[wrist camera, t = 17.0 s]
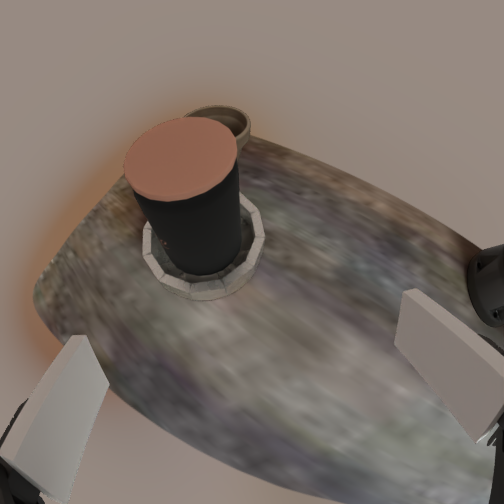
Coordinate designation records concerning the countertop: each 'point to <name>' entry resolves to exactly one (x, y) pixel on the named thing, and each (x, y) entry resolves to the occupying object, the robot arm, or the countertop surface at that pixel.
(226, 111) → the flower pot
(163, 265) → the cup bracket
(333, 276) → the countertop surface
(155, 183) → the coffee jar
